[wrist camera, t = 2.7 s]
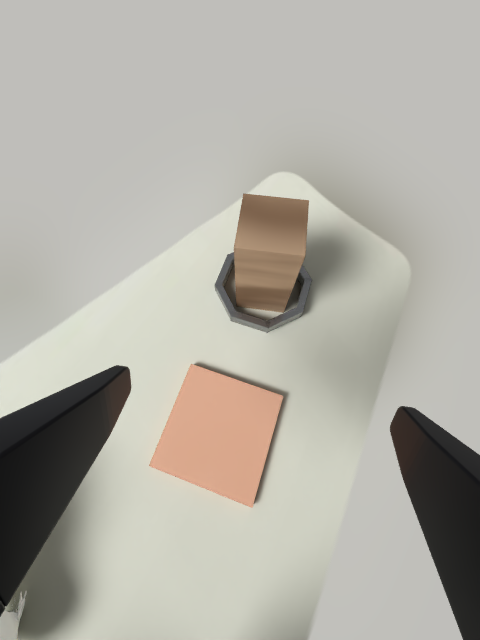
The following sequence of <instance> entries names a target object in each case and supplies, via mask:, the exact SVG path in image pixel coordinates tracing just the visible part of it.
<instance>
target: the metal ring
mask: <svg viewBox="0 0 480 640" xmlns="http://www.w3.org/2000/svg"><path fill="white" fill-rule="evenodd" d="M233 265H235V262H234V252H233V253H231V254H228V255H227V257H226V260H225V262H224V264H223V267H222V269H221V272H220V274H219V276H218V279H217V281H216V283H215V290H216V292H217V294H218V296H219V298H220V300H221V302H222V304H223V306H224V308H225V310H226V312H227V314H228V316H229V317H230V319H231V321H233V322H236V323H239V324H242V325H245V326H248V327H252V328H255V329H258V330H261V331H264V332H266V333H268V332H269V331H271V330H273V329H275V328H278V327H280V326H282V325H284V324H286V323H288V322H290V321H292V320H294V319H297V318H299V317H300V316H301V315H302V313H303V309H304V305H305V302H306V298H307V295H308V291H309V288H310V284H311V281H312V279H311V277H310V276H309V274H308V273H307V271H306V270H305V268H304V267H303V265H302V266H301V268H300V271H299V274H298V276H297V279H298V281H299V282H300V284H301V285H302V288H301V291H300V295H299V298H298V301H297V305H296V308H294V309H292V310H290V311H288V312H286V313H284V314H281V315H279V316H277V317H275V318H273V319H271V320H269V321H266V320H263V319H260V318H257V317H254V316H250V315H247V314H244V313H241V312H238V311H236V310H235V308H234V306H233V305H232V303H231V301H230V299H229V297H228V295H227V293H226V291H225V289H224V286H225V284H226V282H227V279H228V277H229V274H230V272H231V269H232V267H233Z"/></svg>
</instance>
